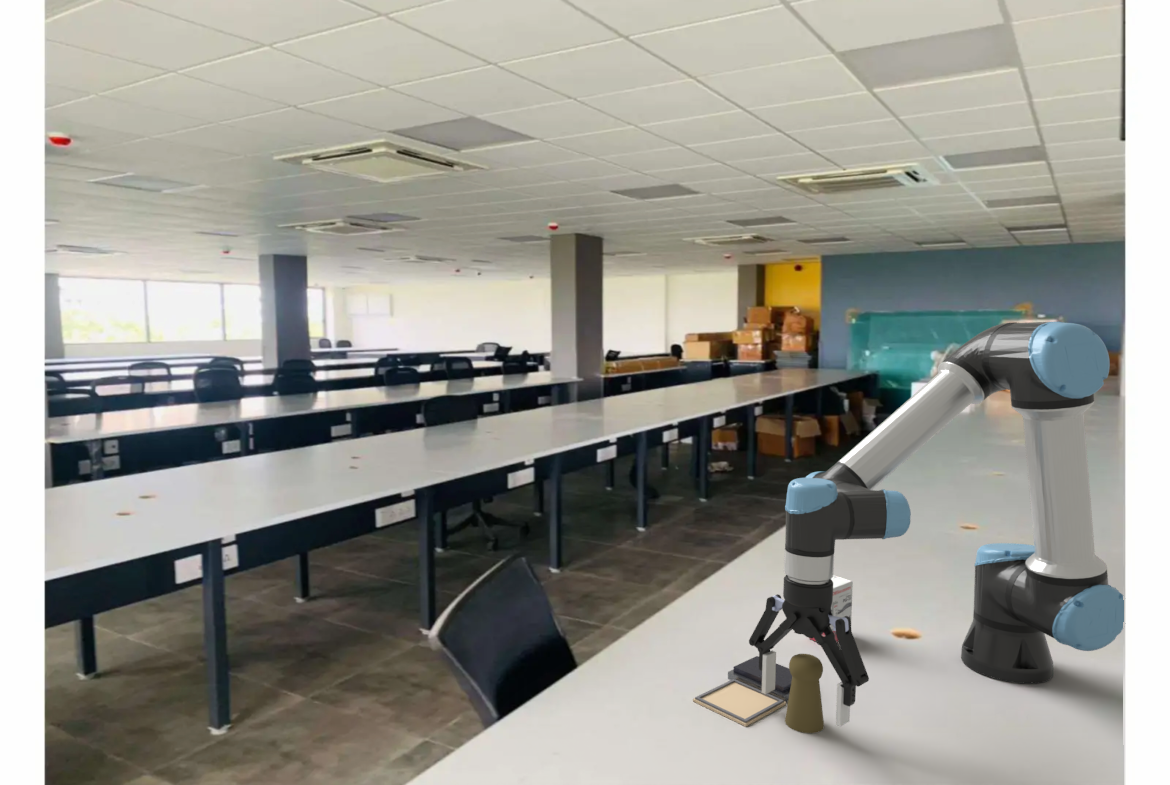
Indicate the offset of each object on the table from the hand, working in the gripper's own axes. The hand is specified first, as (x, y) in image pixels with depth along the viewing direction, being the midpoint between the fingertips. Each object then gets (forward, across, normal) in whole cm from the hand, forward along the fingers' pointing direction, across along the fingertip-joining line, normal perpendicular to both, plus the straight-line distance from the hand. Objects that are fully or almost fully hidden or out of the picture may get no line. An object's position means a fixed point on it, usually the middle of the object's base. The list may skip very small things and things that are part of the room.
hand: (803, 706), depth 122 cm
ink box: (+3, +16, -34) cm, 38 cm away
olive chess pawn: (+3, 0, 0) cm, 3 cm away
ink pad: (+3, +12, -8) cm, 14 cm away
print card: (+3, +11, +2) cm, 11 cm away
